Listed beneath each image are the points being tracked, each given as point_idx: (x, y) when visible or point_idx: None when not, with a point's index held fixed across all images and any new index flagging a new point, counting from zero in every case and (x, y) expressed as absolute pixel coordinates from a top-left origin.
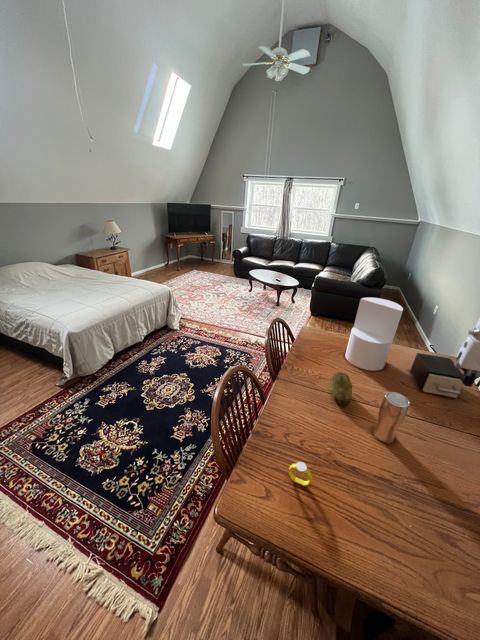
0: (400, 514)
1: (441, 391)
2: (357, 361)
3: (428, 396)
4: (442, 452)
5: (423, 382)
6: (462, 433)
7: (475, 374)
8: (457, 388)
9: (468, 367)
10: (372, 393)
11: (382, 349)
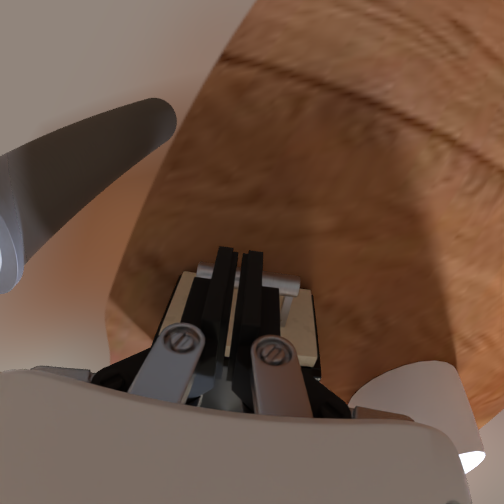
0: None
1: (283, 274)
2: (459, 381)
3: (294, 269)
4: None
5: (316, 326)
6: (271, 56)
7: (200, 356)
8: (184, 304)
9: (391, 447)
10: (498, 253)
11: None
